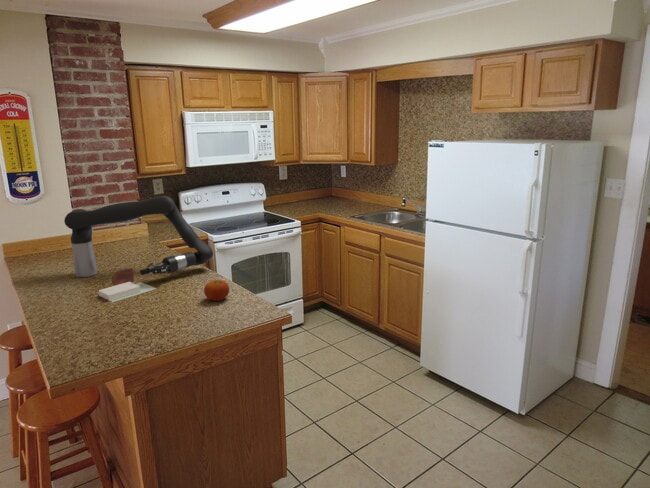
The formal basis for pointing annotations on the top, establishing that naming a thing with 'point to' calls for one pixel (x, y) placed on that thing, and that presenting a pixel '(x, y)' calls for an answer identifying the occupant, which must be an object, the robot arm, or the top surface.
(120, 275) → the wooden tablet
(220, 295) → the fruit
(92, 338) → the top surface
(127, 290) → the white rectangular block
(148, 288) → the cutting board
